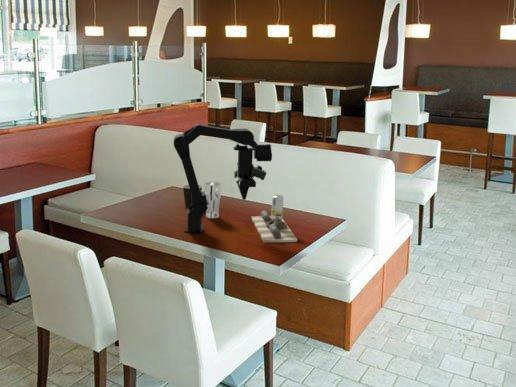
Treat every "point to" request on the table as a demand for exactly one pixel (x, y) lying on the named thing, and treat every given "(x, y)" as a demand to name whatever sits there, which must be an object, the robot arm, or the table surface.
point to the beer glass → (212, 199)
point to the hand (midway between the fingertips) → (244, 199)
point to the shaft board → (269, 234)
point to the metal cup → (277, 210)
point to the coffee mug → (188, 195)
